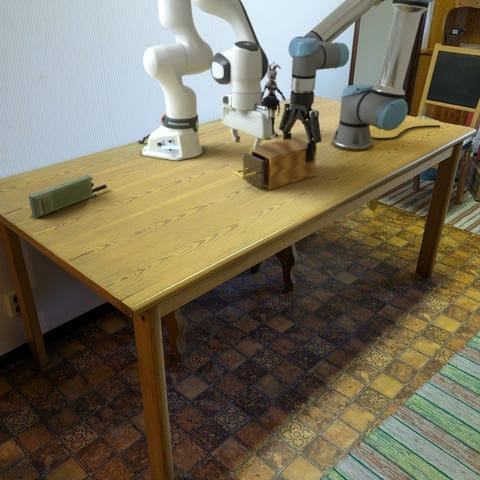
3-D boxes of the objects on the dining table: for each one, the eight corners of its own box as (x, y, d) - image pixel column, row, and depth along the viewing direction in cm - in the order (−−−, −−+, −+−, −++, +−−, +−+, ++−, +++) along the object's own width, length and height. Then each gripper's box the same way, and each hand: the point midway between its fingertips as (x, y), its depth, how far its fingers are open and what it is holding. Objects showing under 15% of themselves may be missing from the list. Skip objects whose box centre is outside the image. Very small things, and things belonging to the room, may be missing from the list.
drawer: (246, 192, 157) (246, 165, 153) (228, 183, 164) (228, 156, 159) (304, 175, 170) (306, 149, 166) (285, 167, 176) (286, 142, 172)
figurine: (261, 141, 202) (264, 63, 188) (251, 138, 206) (252, 61, 192) (286, 134, 211) (290, 59, 196) (276, 131, 215) (279, 57, 200)
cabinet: (269, 189, 162) (271, 157, 156) (249, 178, 169) (249, 147, 164) (314, 175, 172) (317, 145, 167) (293, 166, 180) (295, 136, 174)
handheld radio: (30, 215, 144) (102, 188, 161) (37, 219, 142) (109, 191, 159) (26, 193, 140) (100, 168, 157) (33, 197, 138) (107, 171, 155)
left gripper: (278, 106, 144) (276, 152, 151) (233, 93, 158) (233, 136, 165) (261, 109, 141) (260, 157, 147) (217, 95, 155) (218, 139, 161)
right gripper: (337, 96, 154) (330, 164, 165) (287, 82, 170) (283, 145, 181) (319, 99, 150) (313, 169, 161) (270, 85, 167) (267, 149, 177)
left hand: (246, 145), depth 156 cm, fingers open, 8 cm apart
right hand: (297, 156), depth 171 cm, fingers closed on cabinet, 11 cm apart
